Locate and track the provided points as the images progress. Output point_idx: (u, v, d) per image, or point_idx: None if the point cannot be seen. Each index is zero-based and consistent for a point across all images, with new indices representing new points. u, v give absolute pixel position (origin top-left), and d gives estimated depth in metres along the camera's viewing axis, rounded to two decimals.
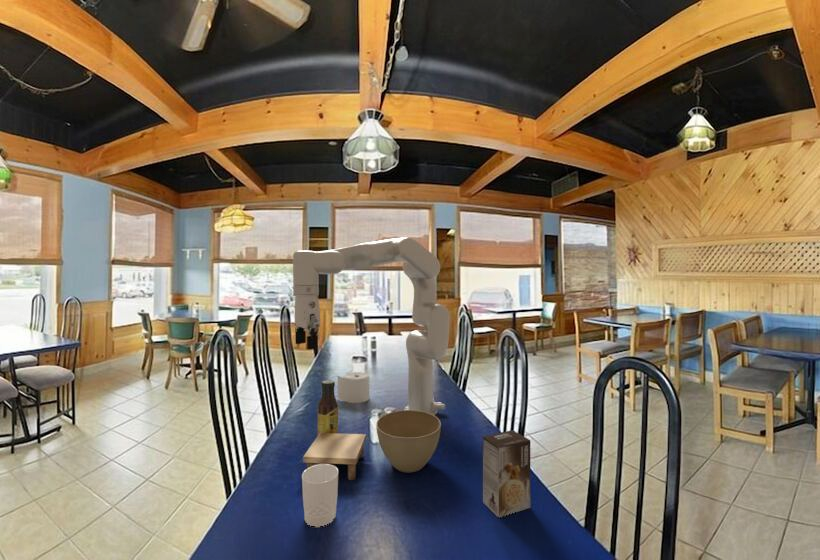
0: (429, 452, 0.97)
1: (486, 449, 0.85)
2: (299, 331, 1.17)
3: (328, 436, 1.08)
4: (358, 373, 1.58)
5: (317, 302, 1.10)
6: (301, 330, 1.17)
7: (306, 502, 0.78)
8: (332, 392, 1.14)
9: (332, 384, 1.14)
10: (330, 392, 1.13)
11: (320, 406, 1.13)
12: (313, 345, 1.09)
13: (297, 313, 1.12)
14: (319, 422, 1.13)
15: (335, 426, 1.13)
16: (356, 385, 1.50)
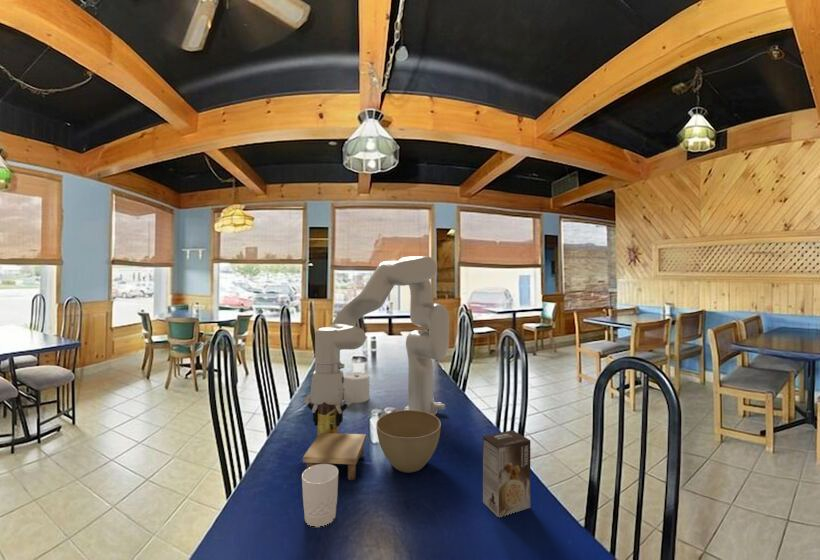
0: (429, 452, 0.97)
1: (486, 449, 0.85)
2: (317, 412, 1.14)
3: (328, 436, 1.08)
4: (358, 373, 1.58)
5: (343, 376, 1.16)
6: (317, 410, 1.15)
7: (306, 502, 0.78)
8: None
9: None
10: None
11: (320, 406, 1.13)
12: (341, 420, 1.14)
13: (322, 391, 1.12)
14: (319, 422, 1.13)
15: (335, 426, 1.13)
16: (356, 385, 1.50)
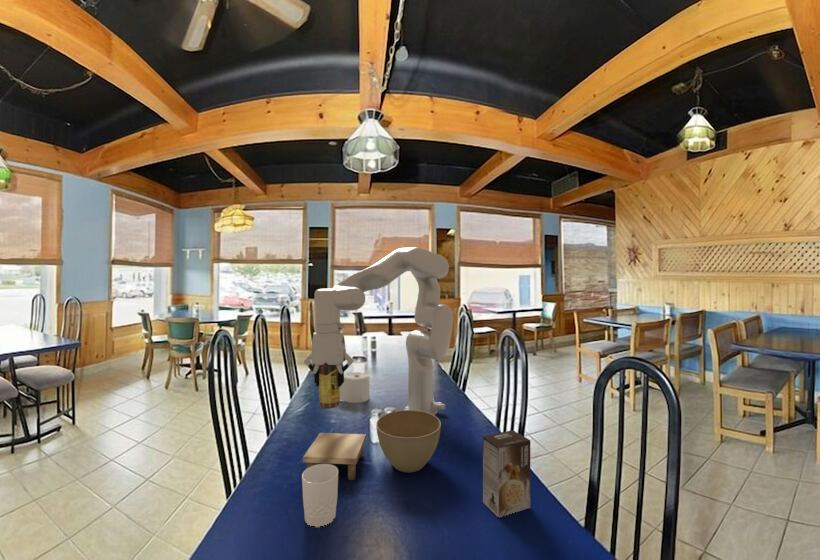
0: (429, 452, 0.97)
1: (486, 449, 0.85)
2: (318, 373, 1.14)
3: (328, 436, 1.08)
4: (358, 373, 1.58)
5: None
6: (318, 371, 1.15)
7: (306, 502, 0.78)
8: None
9: None
10: None
11: (321, 367, 1.12)
12: (343, 381, 1.14)
13: (323, 352, 1.12)
14: (320, 383, 1.12)
15: (336, 386, 1.13)
16: (356, 385, 1.50)
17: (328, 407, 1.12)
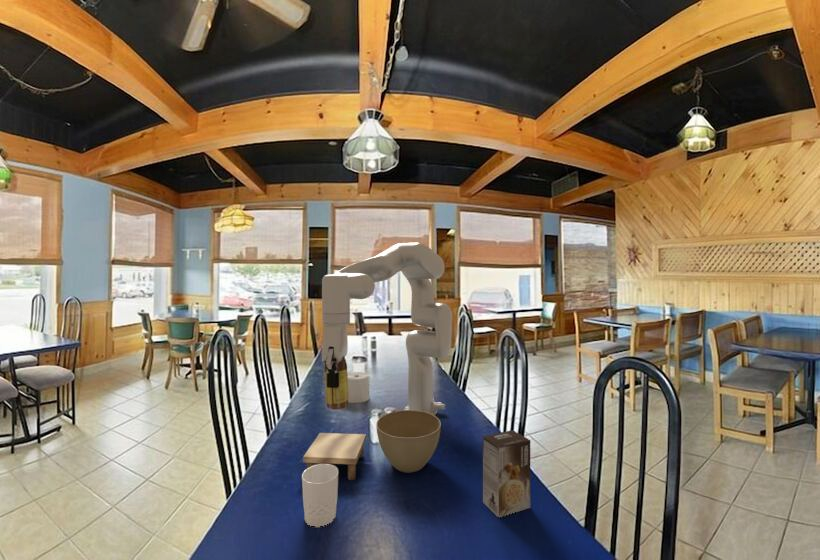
0: (429, 452, 0.97)
1: (486, 449, 0.85)
2: None
3: (328, 436, 1.08)
4: (358, 373, 1.58)
5: None
6: None
7: (306, 502, 0.78)
8: None
9: None
10: None
11: (342, 362, 1.00)
12: None
13: (344, 344, 1.01)
14: (342, 380, 1.00)
15: None
16: (356, 385, 1.50)
17: (347, 403, 1.02)
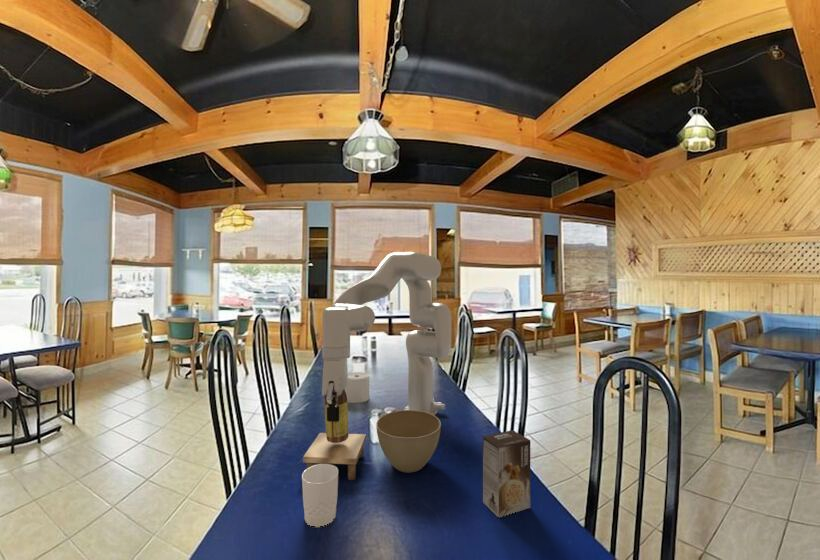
0: (429, 452, 0.97)
1: (486, 449, 0.85)
2: None
3: None
4: (358, 373, 1.58)
5: None
6: None
7: (306, 502, 0.78)
8: None
9: None
10: None
11: (342, 395, 1.00)
12: None
13: (344, 377, 1.01)
14: (342, 413, 1.00)
15: None
16: (356, 385, 1.50)
17: (347, 436, 1.03)
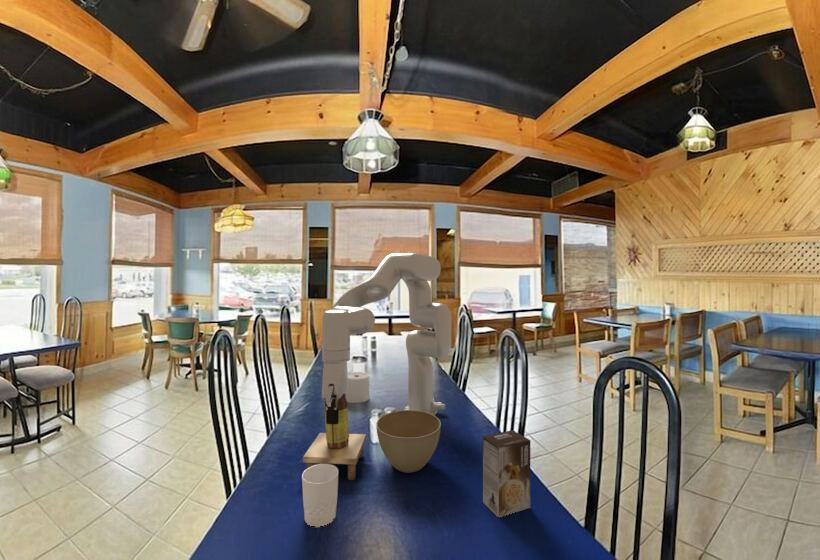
0: (429, 452, 0.97)
1: (486, 449, 0.85)
2: None
3: None
4: (358, 373, 1.58)
5: None
6: None
7: (306, 502, 0.78)
8: None
9: None
10: None
11: (342, 401, 1.00)
12: None
13: (344, 380, 1.01)
14: (343, 419, 1.00)
15: None
16: (356, 385, 1.50)
17: (348, 441, 1.03)
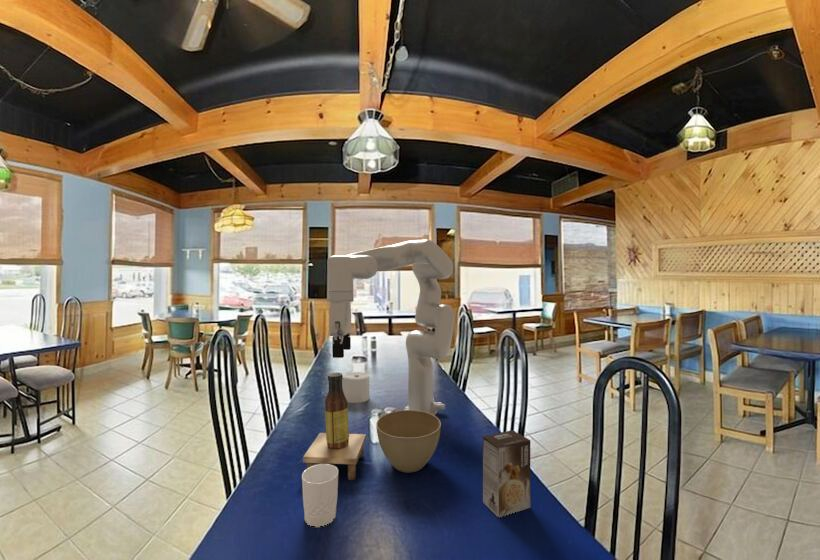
0: (429, 452, 0.97)
1: (486, 449, 0.85)
2: None
3: None
4: (358, 373, 1.58)
5: None
6: None
7: (306, 502, 0.78)
8: None
9: None
10: None
11: (342, 401, 1.00)
12: None
13: (348, 320, 1.09)
14: (343, 419, 1.00)
15: None
16: (356, 385, 1.50)
17: (348, 441, 1.03)
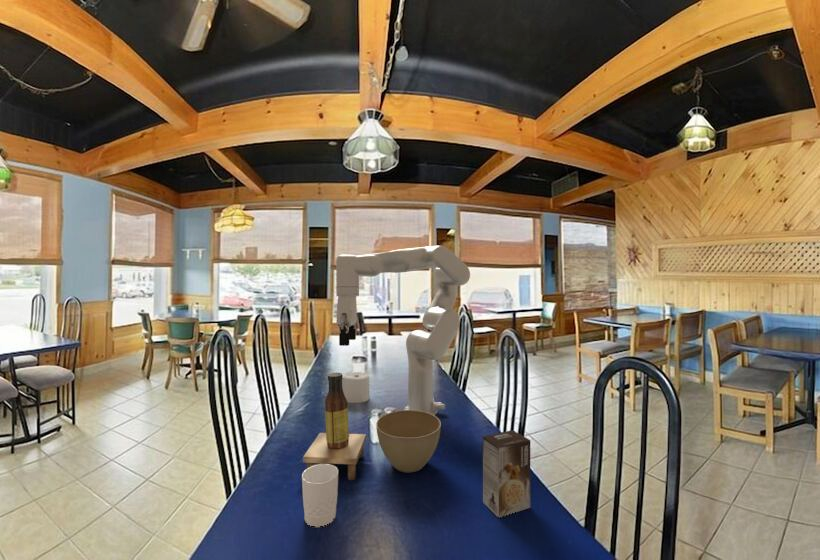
0: (429, 452, 0.97)
1: (486, 449, 0.85)
2: None
3: None
4: (358, 373, 1.58)
5: None
6: None
7: (306, 502, 0.78)
8: None
9: None
10: None
11: (342, 401, 1.00)
12: None
13: (354, 312, 1.22)
14: (343, 419, 1.00)
15: None
16: (356, 385, 1.50)
17: (348, 441, 1.03)
